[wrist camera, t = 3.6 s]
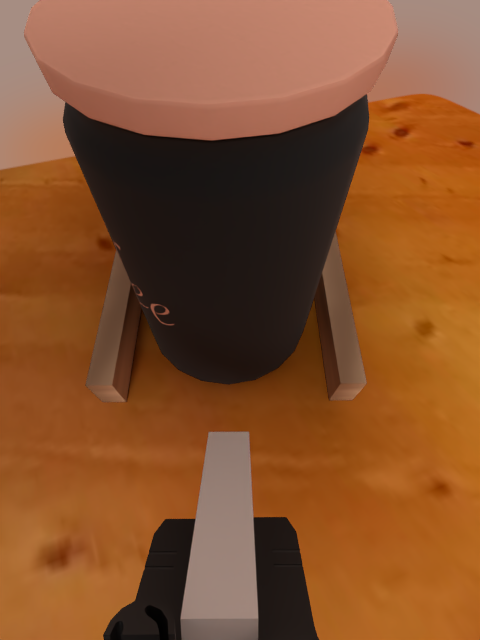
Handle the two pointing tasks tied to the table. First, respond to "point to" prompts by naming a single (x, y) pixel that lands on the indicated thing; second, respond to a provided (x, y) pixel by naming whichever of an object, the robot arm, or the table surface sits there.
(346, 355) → the channel
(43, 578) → the table surface
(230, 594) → the robot arm
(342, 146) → the coffee jar
